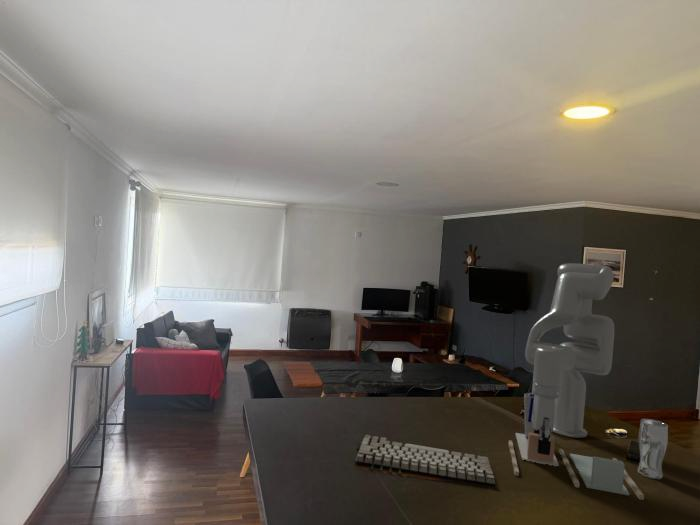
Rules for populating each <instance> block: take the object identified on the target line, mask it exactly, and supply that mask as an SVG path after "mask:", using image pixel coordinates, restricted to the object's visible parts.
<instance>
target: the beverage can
mask: <svg viewBox="0 0 700 525" xmlns="http://www.w3.org/2000/svg"><path fill="white" fill-rule="evenodd" d="M523 395H524V396H523V404H524V406H523V407H524V408H523V411H524V434H525V438H526V439H527V440H528V435H529V433H534V427H533V424H532V421H531V418H532V410H533V401H534V394H533V393H532V392H526V393H524V394H523Z"/></svg>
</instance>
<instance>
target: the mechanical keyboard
mask: <svg viewBox="0 0 700 525" xmlns="http://www.w3.org/2000/svg"><path fill="white" fill-rule="evenodd" d="M356 453H357V455H356V456H355V457H356V458H355V460H354V463H353V465H354V466H357V469H359V470H365V471H371V472H376V473H382V474H383V473H384V474H390V475H395V476H401V477H413V478H414V477H415V478H418V479H419V478H420V479H426V480H432V481H440V482H445V483H446V482H453V483H454V482H456V483H462V484H468V485H473V486H474V485H475V486H480V487H488V488H491V489H493V488H494V489H496V488H497V486H496V481H495V476H494V472H493V469H492V468H491V464H490V461H489V457H488V456H482V455H477V457H476V455H475V454H471V453H470V454H469V453H464V454H463V453H462V452H457V451H453V450H452V451H451V452H450V451H449V450H447V449H443V448H442V449H441V448H436V447H430V446H426V445H425V446H424V445H418V444H412V443H405V444H404V445H403V442H397V441H392V442H391V441H390V440H388V439H387V437H383V436H381V437H380V438H379V436H375V435H373V436H372V435H370V434H365V436H364V438H363V440H362V442H361V443H358V445H357V447H356Z"/></svg>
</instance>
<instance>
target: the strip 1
mask: <svg viewBox="0 0 700 525" xmlns="http://www.w3.org/2000/svg"><path fill="white" fill-rule="evenodd" d="M515 438H516V441H517V445H518V449H519V453H520V457H522V458H521V461H524V460H526V462H530V461H531V462H530V463H535V462H536V463H537V464H542V465H546V464H548V465H547V466H552V465H553V467H557V466H559V467H560V464H559V461H558V459H557V457H556V455H555V445H556V438H555V436H552V435H551V445H550V455H545V454H539V453H538V439H540V434H535V433H529V435H528V440H527V439H526V438H525V433H519V432H515Z"/></svg>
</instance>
